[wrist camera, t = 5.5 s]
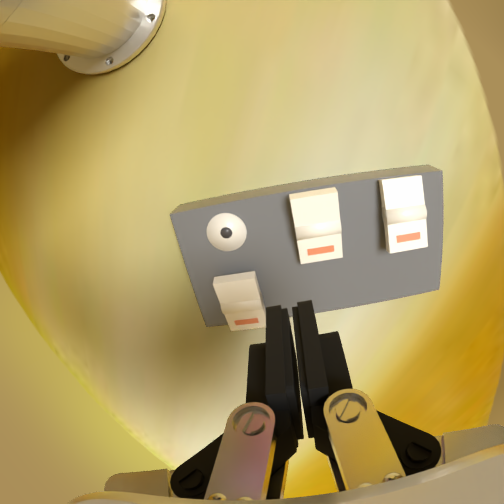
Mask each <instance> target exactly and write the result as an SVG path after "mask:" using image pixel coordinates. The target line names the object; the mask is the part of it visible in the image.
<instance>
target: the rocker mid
mask: <svg viewBox="0 0 504 504" xmlns="http://www.w3.org/2000/svg"><path fill="white" fill-rule="evenodd" d="M289 197H290V203H291V208H292V214H293V220H294V226H295V232H296V238H297V243H298V250H299V256H300V262H301V264H305V263H312V262H318V261H324V260H330V259H336V258H343V252H342V237H341V233H342V229H341V221H340V212H339V201H338V192H337V190H336V188H335V187H332V188H325V189H319V190H312V191H306V192H300V193H294V194H289Z"/></svg>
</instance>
